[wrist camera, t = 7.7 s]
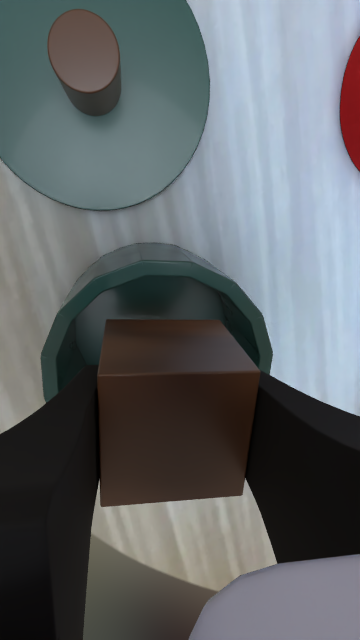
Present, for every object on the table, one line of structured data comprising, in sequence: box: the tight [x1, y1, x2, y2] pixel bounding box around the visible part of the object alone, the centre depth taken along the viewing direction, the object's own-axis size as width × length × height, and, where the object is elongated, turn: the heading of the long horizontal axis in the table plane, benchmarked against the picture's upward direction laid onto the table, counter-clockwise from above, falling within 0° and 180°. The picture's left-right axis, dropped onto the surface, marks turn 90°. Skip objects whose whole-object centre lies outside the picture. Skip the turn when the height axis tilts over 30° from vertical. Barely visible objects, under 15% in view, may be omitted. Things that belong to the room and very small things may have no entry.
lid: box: [0, 0, 210, 210], centre depth 14 cm, size 10×10×4 cm
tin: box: [41, 243, 273, 403], centre depth 17 cm, size 10×10×6 cm
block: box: [97, 319, 260, 507], centre depth 11 cm, size 4×4×4 cm
